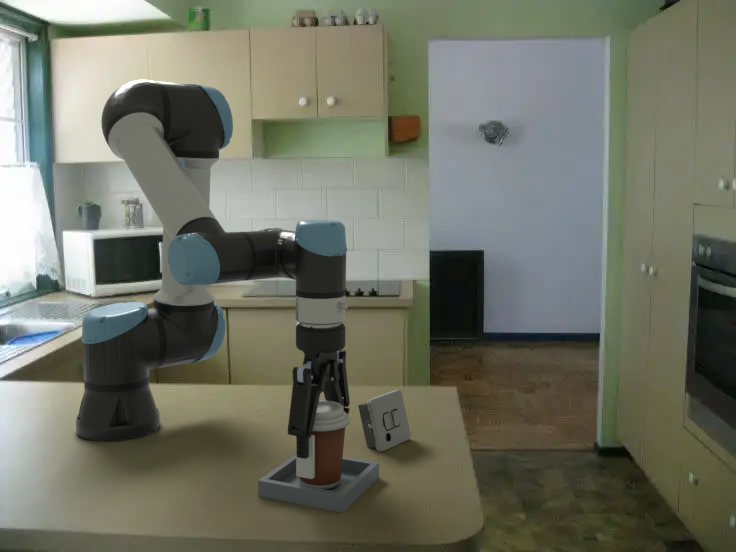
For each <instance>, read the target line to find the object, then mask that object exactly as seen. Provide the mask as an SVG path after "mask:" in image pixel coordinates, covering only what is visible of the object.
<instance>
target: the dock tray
mask: <svg viewBox="0 0 736 552" xmlns="http://www.w3.org/2000/svg"><path fill="white" fill-rule="evenodd" d="M379 478H380V462H378V461H370V460H365V459H359V458H353V457H349V456H348V457H347V456H343V459H342V469H341V482H340V484H339V485H338V486H336V487H333V488H330V489H318V488H312V487H307V486H302V485H301V484H300V478H299V477H298V476H296V453H295V454H293V455H292V456H291V457H289V458H288V459H286V460H285V461H284V462H282V463H280V464H279V465H278V466H276V467H275V468H274V469H272V470H271V471H269V472H268V473H267V474H265V475H264V476H262V477H261V478H259V479H258V481H257V483H258V484H257V486H258V488H257V493H258V494H257V495H258V497H260V498H265V499H270V500H276V501H280V502H285V503H290V504H296V505H301V506H306V507H311V508H316V509H321V510H326V511H331V512H332V511H333V512H336V513H337V512H338V513H342V514H343V513H345V511H347V509H349V508H350V507H351V506H352V505H353V504H354V503H355V501H357V500H358V499H359V498H360V497H361V496H362V495H363V494H364V493H365V492H366V491H367V490H368V489H369V488H370V487H371V486H372V485H373V484H374V483H375V482H377V480H378V479H379Z"/></svg>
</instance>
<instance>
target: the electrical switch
mask: <svg viewBox="0 0 736 552" xmlns="http://www.w3.org/2000/svg"><path fill="white" fill-rule="evenodd" d="M403 397H404V396H403V393H402V390H400V389H394V390H391V391H389V392H386V393H384V394H381V395H377V396H375V397H372V398H370V399H368V400H367V401H365V402H362V403H361V404H358V405H357V407H358V411H359V416H360V421H361V426H362V429H363V435H364V438H365V444H366V448H375V449H376V450H377V451H378V452H380V453H381V452H384V451H387V450H389V449H391V448H393V447H395V446H398V445H401V444H403V443H404V442H406V441H408V440H410V439H411V437H412V434H411V429H410V425H409V421H408V419H409V418H408V416H407V415H408V414H407V411H406V405H405V402H404V398H403Z"/></svg>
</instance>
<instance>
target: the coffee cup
mask: <svg viewBox="0 0 736 552" xmlns="http://www.w3.org/2000/svg"><path fill="white" fill-rule="evenodd" d="M350 422H351V416H350V415H349V414H347V413H346V412H345V411H343V406H342V405H341V404H340V403H337V402H334V401H328V400H326V399H324V400H323V399H322V400H321V399H319V402H318V406H317V411H316V416H315V420H314V425H313V430H312V434H311V435H315V477H314V478H313V479H309V478H304V477H299V478H300V484H301V485H302V486H307V487H312V488H318V489H330V488H333V487H336V486H338V485H339V484H340V482H341V469H342V459H343V457H344V446H345V437H346V434H345V433H346V428H347V426H349V425H350V424H351V423H350Z"/></svg>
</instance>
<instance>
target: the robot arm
mask: <svg viewBox="0 0 736 552" xmlns="http://www.w3.org/2000/svg"><path fill="white" fill-rule="evenodd" d="M226 99H227V98H226V96H224V94H223V93H222V92H221V90H218V89H217V88H215V87H213V86H210V85H209V86H207V85H202V84H197V83H181V82H173V81H172V82H170V81H168V82H167V81H158V80H157V81H156V80H151V79H150V80H149V79H136V80H131V81H130V82H127V83H124V84H123V85H120V87H118V88H117V89H115V90H114V91H113V92H112V93H111V94H110V96H109V97H108V98H107V100H106V102H105V104H104V107H103V109H102V113H101V120H100V121H101V122H100V123H101V130H102V131H101V132H102V135H103V138H104V141H105V143H106V144H107V145H108V147H109V149H110V151H111V152H112V154H113V155H115V157H117V158H118V159H121V160H123V161H124V162H125V164H126V166H127V167H128V170H129V171H130V173H131V174H132V176H133V179H135V181H136V182H137V184H138V186H139V188H140V190H141V191H142V192H143V194H144V196H145V198H146V200H147V201H148V204H149V205H150V206H151V208H152V209H153V212H154V213H155V214H156V216H157V218H158V220H159V221H160V223H161V225H162V263H161V265H162V267H161V268H162V271H161V276H162V277H161V288H160V289H159V290H158V291H157V292H156V293H155V294H154V296H153V307H151V308H148V307H147V304H146V303H144V302H141V301H127V302H115V303H112V304H111V303H110V304H107V305H102V306H100V307H97V308H95V309H92V310H91V311H89V312H86V313H87V314H85V315H84V317H83V318H82V327H81V329H82V334H81V338H80V340H81V344H82V345H81V346H82V362H83V363H82V364H83V365H82V366H83V385H84V386H83V389H84V390H83V391H84V392H83V395H82V399H81V402H80V405H79V410H78V414H77V416H76V418H75V432H76V435H77V436H79V437H80V438H82V439H85V440H91V441H97V442H98V441H99V442H100V441H101V442H107V441H108V442H114V441H124V440H131V439H136V438H141V437H143V436H146V435H149V434H151V433H153V432H155V431H156V430H158V429H159V427H160V425H161V419H160V415H161V414H160V411H159V409H158V408H157V404H156V402H155V398H154V396H153V393H152V391H151V388H150V387H151V386H150V370H153V369H160V368H165V367H172V366H177V365H185V364H195V363H199V362H200V361H204V360H205V361H206V360H208V359H211V358H213V357H214V356H215V355H216V354H217V353H218V352H219V351H220V350H221V348H222V345H223V343H224V340H225V335H226V319H225V317H224V312H223V311H224V310H223V309H222V308H221V306H220V305H219V304H218V303H217V302H215V296H214V295H213V293H211V292H210V290H208V286H210V285H215V284H223V283H232V282H243V281H258V280H267V279H268V280H269V279H277V278H279V279H281V278H283V279H290V280H294V281H295V321H296V322H297V325H296V326H295V346H296V348H297V349H298V350H299V351H302V353H303V354H304V355H303V356H304V357H303V362H302V366H300V367H299V366H294V367H293V369H292V390H291V396H290V397H291V398H290V399H291V400H290V408H289V416H288V424H287V435H289V436H294V437H295V440H296V441H295V448H296V449H295V454H296V476H298V477H304V478H309V479H313V478H314V477H315V435H311V434H312V430H313V425H314V420H315V416H316V411H317V406H318V402H319V400H320V397H321V394H322V393H323V395H324V400H328V401H334V402H337V403H340V404H341V405H342V406H343V411H345V412H346V413H347V414H348V415H349V414H350V408H349V406H350V401H351V400H350V392H349V391H350V390H349V383H348V374H347V373H348V372H347V363H346V362H347V361H346V360H347V351H346V350H344V349H345V347H346V327H347V326H346V325H345V324H344V323H343V322H344V321H345V320H346V310H347V309H348V308H349V307H348V306H349V305H348V303H347V302H346V289H347V288H346V286H347V283H346V282H347V251H348V247H347V238H346V237H347V236H346V226H345V225H344V224H343V223H342V222H341V221H338V220H326V219H325V220H324V219H309V220H308V219H307V220H305V219H304V220H300V221H298V222H297V223H296V225H295V230H287V229H283V228H279V227H278V228H277V227H275V228H263V229H260V230H255V231H254V230H253V231H225V229H224V228H223V226H222V225H221V224H220V222H219V221H218V219H217V217H216V216H215V214H214V213H213V211H212V210H211V209H210V205H211V204H210V201H211V200H210V199H211V197H210V193H211V170H212V169H211V168H212V167H213V165H214V164H216V163H217V162H218V161H219V160H220V150H223V149H224V148H226V147H227V146H228V145H229V144H230V142H231V139H232V137H233V132H234V131H233V130H234V120H233V114H232V110H231V106H230V104H229V102H228V100H226Z"/></svg>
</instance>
